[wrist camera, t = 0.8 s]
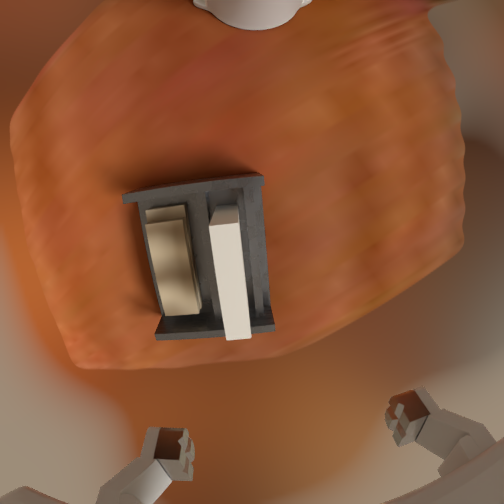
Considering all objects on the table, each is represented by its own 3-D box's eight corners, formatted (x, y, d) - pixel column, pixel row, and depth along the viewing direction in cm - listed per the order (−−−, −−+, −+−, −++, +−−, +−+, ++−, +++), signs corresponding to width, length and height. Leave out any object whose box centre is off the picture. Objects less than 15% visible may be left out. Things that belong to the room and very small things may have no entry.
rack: (138, 188, 40) (121, 194, 33) (258, 172, 40) (263, 175, 33) (165, 316, 47) (156, 340, 40) (269, 307, 47) (275, 331, 41)
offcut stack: (149, 207, 39) (141, 213, 35) (186, 202, 39) (181, 207, 36) (169, 305, 44) (164, 318, 41) (202, 302, 45) (200, 315, 41)
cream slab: (216, 206, 40) (208, 226, 28) (237, 203, 40) (238, 222, 29) (227, 294, 44) (226, 340, 33) (247, 292, 44) (251, 337, 33)
